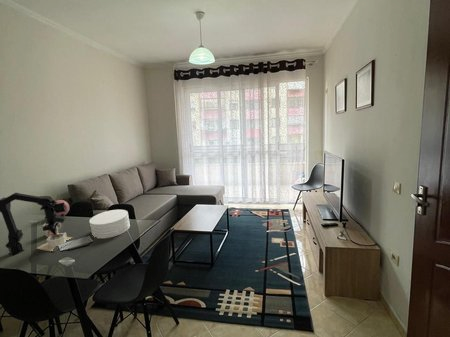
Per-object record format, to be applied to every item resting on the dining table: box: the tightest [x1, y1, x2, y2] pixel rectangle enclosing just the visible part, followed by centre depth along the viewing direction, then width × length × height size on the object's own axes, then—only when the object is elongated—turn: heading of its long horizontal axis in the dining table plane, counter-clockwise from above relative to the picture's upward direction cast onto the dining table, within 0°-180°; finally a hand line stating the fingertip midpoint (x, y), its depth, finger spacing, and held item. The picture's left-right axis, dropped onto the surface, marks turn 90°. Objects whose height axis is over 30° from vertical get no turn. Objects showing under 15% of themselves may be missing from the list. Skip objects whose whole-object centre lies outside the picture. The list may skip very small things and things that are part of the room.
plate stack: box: [89, 209, 131, 239], centre depth 203 cm, size 28×28×12 cm
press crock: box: [36, 232, 72, 252], centre depth 187 cm, size 18×18×6 cm
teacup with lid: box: [42, 222, 62, 238], centre depth 204 cm, size 12×9×12 cm
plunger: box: [51, 231, 60, 239], centre depth 186 cm, size 8×8×6 cm
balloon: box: [54, 199, 70, 216], centre depth 239 cm, size 15×20×15 cm
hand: (55, 234), depth 185 cm, fingers closed, pressing on plunger
